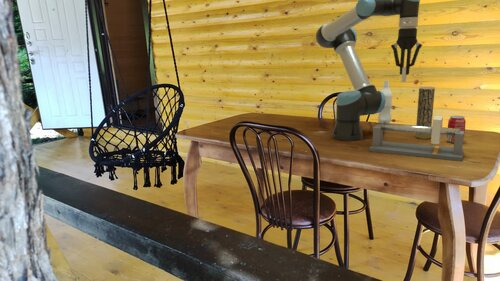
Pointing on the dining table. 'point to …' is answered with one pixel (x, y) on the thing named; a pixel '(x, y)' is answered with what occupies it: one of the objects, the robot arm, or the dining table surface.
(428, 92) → the wooden log
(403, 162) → the dining table surface
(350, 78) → the robot arm
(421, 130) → the pipe
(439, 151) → the pipe stand
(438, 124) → the collar
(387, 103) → the water bottle
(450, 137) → the soda can
